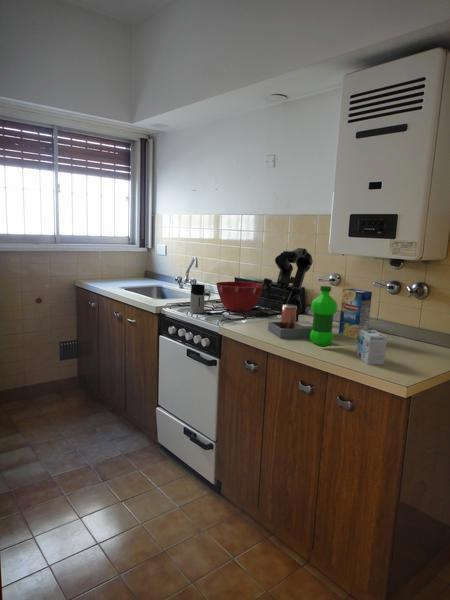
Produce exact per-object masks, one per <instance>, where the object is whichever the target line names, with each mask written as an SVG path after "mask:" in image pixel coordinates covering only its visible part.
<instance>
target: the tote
mask: <svg viewBox="0 0 450 600" xmlns="http://www.w3.org/2000/svg"><path fill="white" fill-rule="evenodd" d="M308 322H309V323H311V324H313V322H310V321H308ZM267 325H268V326H267V331H268V332H269V333H271V334H273V335H275V336H276V337H278V338H279V339H282V340H283V339H310V332H311V331H312V329H313V328H307V329H282V328H281V321H268V323H267Z"/></svg>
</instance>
